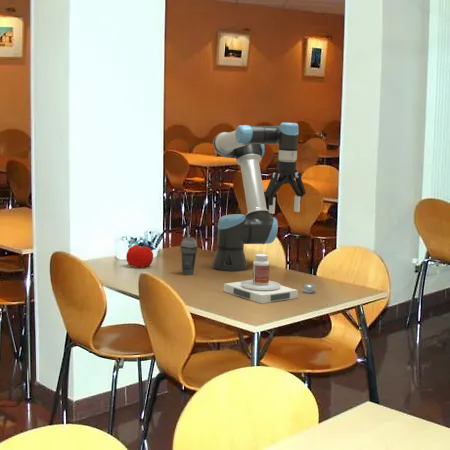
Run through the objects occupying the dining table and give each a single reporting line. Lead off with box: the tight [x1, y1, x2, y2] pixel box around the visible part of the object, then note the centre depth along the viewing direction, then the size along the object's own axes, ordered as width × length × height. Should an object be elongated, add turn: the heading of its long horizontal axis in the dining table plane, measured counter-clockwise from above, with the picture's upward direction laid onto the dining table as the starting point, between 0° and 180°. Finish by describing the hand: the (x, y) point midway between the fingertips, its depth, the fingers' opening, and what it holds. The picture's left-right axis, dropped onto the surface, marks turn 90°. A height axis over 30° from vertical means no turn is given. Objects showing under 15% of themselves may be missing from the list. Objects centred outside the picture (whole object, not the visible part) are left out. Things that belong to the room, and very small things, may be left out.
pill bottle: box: [252, 253, 270, 285], centre depth 312 cm, size 6×6×11 cm
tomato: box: [125, 244, 154, 269], centre depth 356 cm, size 11×12×9 cm
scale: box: [223, 279, 299, 305], centre depth 312 cm, size 22×18×4 cm
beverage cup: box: [180, 226, 198, 276], centre depth 344 cm, size 7×7×20 cm
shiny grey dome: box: [302, 283, 317, 295], centre depth 320 cm, size 5×5×3 cm
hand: (284, 212), depth 338 cm, fingers open, 13 cm apart
